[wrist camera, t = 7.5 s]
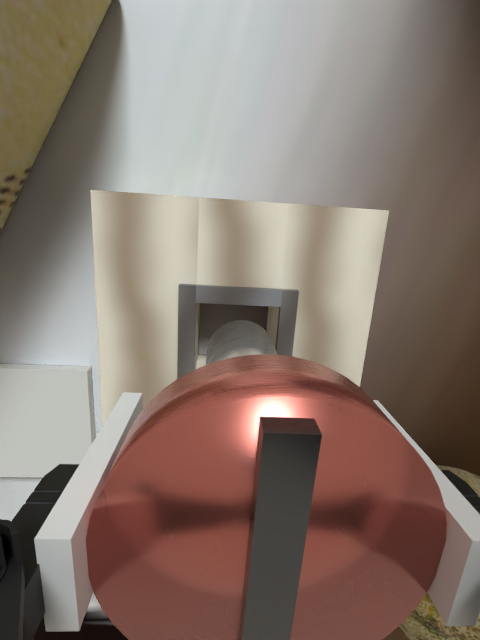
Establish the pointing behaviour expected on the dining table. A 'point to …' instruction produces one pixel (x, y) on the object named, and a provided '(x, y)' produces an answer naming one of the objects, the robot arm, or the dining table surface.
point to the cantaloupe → (425, 621)
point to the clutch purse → (37, 77)
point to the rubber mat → (44, 417)
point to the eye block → (227, 282)
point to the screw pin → (263, 507)
